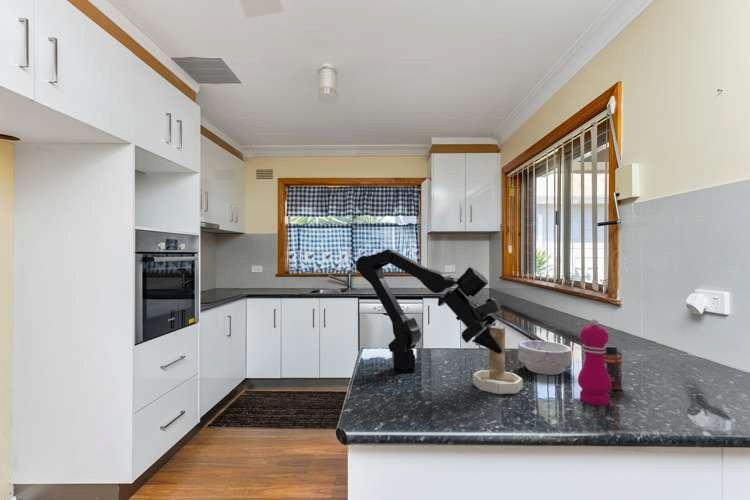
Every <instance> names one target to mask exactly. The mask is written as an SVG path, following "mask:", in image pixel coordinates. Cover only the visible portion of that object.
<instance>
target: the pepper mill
mask: <svg viewBox="0 0 750 500" xmlns="http://www.w3.org/2000/svg"><path fill="white" fill-rule="evenodd" d="M579 336H580V339H581V341H582V342H583V344H582V350H583V351H584V362H583V366H582V367H581V369H580V371H579V374H578V376H577V383H578V386H579V387H580V388H581V390H580V392H579V399H580V400H581V401H582V402H584V403H587V404H589V405H593V406H602V407H603V406H609V404H610V402H611V401H610V394H608V393H609V392H611V388H612V384H611V379H610V377H609V374H608V372H607V370H606V368H605V364H604V353H606V347H605V346H604V345H605V344H608V342H609V334H608V331H607V330H606V328H603V327H602V326H600V325H599V321H598V320H597V319H596V318H594V319H592V318H591V320H590V321H589V325H586V326H583V328H581V331H580V335H579Z"/></svg>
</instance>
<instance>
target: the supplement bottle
mask: <svg viewBox="0 0 750 500" xmlns="http://www.w3.org/2000/svg"><path fill="white" fill-rule="evenodd" d="M604 346H605V347H606V353H604V364H605V368H606V370H607V372H608V374H609V377H610V379H611V384H612V388H611V390H612V391H618V390H620V389H622V385H623V383H622V382H623V381H622V357H621V355H620V354H619V353H618V352H617V351H618V349H617V345H614V344H609V343H606V344H605V345H604ZM611 390H610V391H611Z"/></svg>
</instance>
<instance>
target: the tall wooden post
mask: <svg viewBox="0 0 750 500" xmlns="http://www.w3.org/2000/svg"><path fill="white" fill-rule="evenodd" d="M490 333H491V335H492V337H493V338H494V340H495V341H496V343H497V344H498V345H499V347H500V348H501V350H502V352H501V353H500V354H498V353H496V352H494V351H492V350H490V349H488V350H489V351H488V352H489V353H488V354H489V359H488V362H489V363H488V365H489V367H488V370H489V379H491V380H497V381H503V380H504V378H505V372H506V370H505V369H506V368H505V367H506V364H505V363H506V356H505V355H506V327H505V326H501V325H496V326H491V327H490Z"/></svg>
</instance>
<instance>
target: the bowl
mask: <svg viewBox="0 0 750 500" xmlns="http://www.w3.org/2000/svg"><path fill="white" fill-rule="evenodd" d="M523 383H524V382H523V378H522V377H521V376H519V375H517V374H516V373H513V372H509V371H505V378H504V380H503V381H497V380H491V379H489V369H484V370H483V369H481V370H477V371H476V372H474V373H473V374H472V385H474V386H475V387H476V388H477V389H478V390H480V391H483V392H484V391H485V392H488V393H493V394H498V395H503V394H504V395H505V394H506V395H507V394H517V393H520V391H521V390H522V389H523V385H524V384H523Z"/></svg>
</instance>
